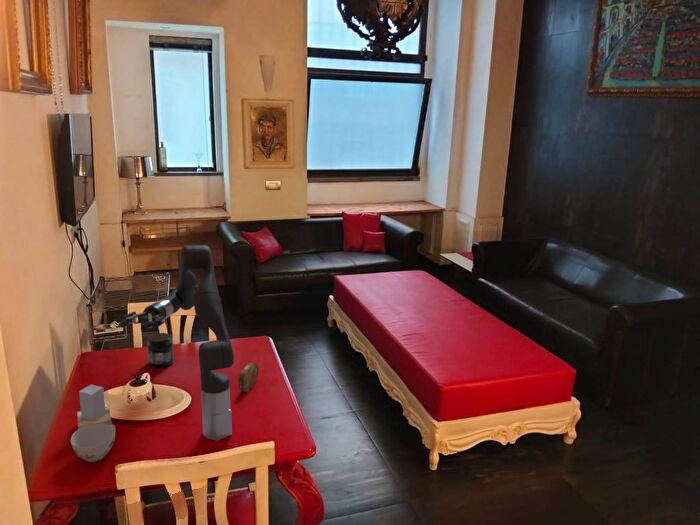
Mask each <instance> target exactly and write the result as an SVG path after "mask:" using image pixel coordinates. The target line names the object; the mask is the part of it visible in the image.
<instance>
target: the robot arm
mask: <svg viewBox="0 0 700 525" xmlns="http://www.w3.org/2000/svg"><path fill="white" fill-rule="evenodd" d="M179 255H180V256H179V268H178V269H179V270H178V272H179V274H178V276H179V277H178V282H177V285H176V287H174V288H173V289H172V291H171V292H170V293H169V294H168V295H167V296H166V297H164V298H163V299H160V300H157V301H155V302H154V303H151V304H149V305H148V306H146V307H145V308H144V310H143V311H142V312H139V313H137V311H132V312H129V313H128V314H125V315H124V316H123V320H122V321H120V328H125V327H127V326H129V325H131V324H134V325H137V324H141V325H140V330H141V331H142V332H144V331H146V330H148V329H149V328H153V327H154V328H155V329H157V328H159V327H160V326H162V325H164V324H165V322H166V319H168V318H169V317H170V316H172V315H173V314H175V313H176V312H178V311H179V310H180V309H181V310H183V311H189V310H191V309H192V308H193V309H194V312H195V316H197V318H198V319H199V320H200V322H202V324H204V325H205V326H206V327H207V328H208V329H210V331H212V332H213V334H214V335H215V337H216V338H217V340H215V341H208V342H202V343H201V344H200V345H199V347H198V361H199V370H200V388H201V390H200V391H201V394H200V395H201V414H202V417H201V418H202V433H203V434H202V435H203V437H204V438H206V439H208V440H213V441H215V442H219V441H220V440H223V439H225V438H227V437H230V436H231V435H233V425H232V424H233V421H232V409H231V393H230V392H231V388H230V384H231V383H230V378H229V377H228V376H227V375H226V374H224V373H220V372H216V371H218V370H223V369H228V368H231V367H233V365H234V363H235V355H234V349H233V348H234V347H233V345H232V341H231V339H230V336H229V332H228V328H227V325H226V321H225V316H224V310H223V304H222V299H221V296H220V293H219V288H218V284H217V279H216V275H215V267H214V260H213V253H212V250H211V248H210V246H208V245H185V246H183V247H182V248H181V250H180V254H179ZM192 271H203V276H202V278H201V280H200V281H199V284H198V285H197V280H198V279H197V277H196V275H195V274H194V273H193V272H192Z"/></svg>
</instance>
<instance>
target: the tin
mask: <svg viewBox="0 0 700 525" xmlns="http://www.w3.org/2000/svg"><path fill="white" fill-rule="evenodd" d="M258 375H259V365H258V364H257V362H248V363H247V364H246V365H245V366H244V368H243V369H242V370H241V371H240V373H239V375H238V380H237V381H238V382H237V383H238V390H239V391H240V392H244V393H245V392H246V393H248V392H249V391H250V390H251V389H252V387H254V385H255V383H257V379H258Z"/></svg>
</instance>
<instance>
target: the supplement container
mask: <svg viewBox="0 0 700 525" xmlns="http://www.w3.org/2000/svg"><path fill="white" fill-rule="evenodd" d="M146 348H147V363H148V365H149V366H150V367H153V368H157V369H159V368H166V367H168V366H170V365H171V364H173V363H174V361H175V357H174V355H175V354H174V343H173V340H172V335H171V334H169V333H167V332H159V333H154V334H150V335H149V336H148V338H147V344H146Z"/></svg>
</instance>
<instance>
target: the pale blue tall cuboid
mask: <svg viewBox="0 0 700 525" xmlns="http://www.w3.org/2000/svg"><path fill="white" fill-rule="evenodd" d="M104 390H105V389H104V386H100V385H99V386H98V385H94V384H90V385H88V386H86V387H84V388H83V389H81V390H79V391H78V393H79V394H78V395H79V404H80V411H81V416H82V418H83V419H87V420H90V421H96V420H97V419H99V418H100V417H102V416H103V415H104V414H106V412H105V406H106V403H105V402H106V401H105V400H106V399H105V391H104Z"/></svg>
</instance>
